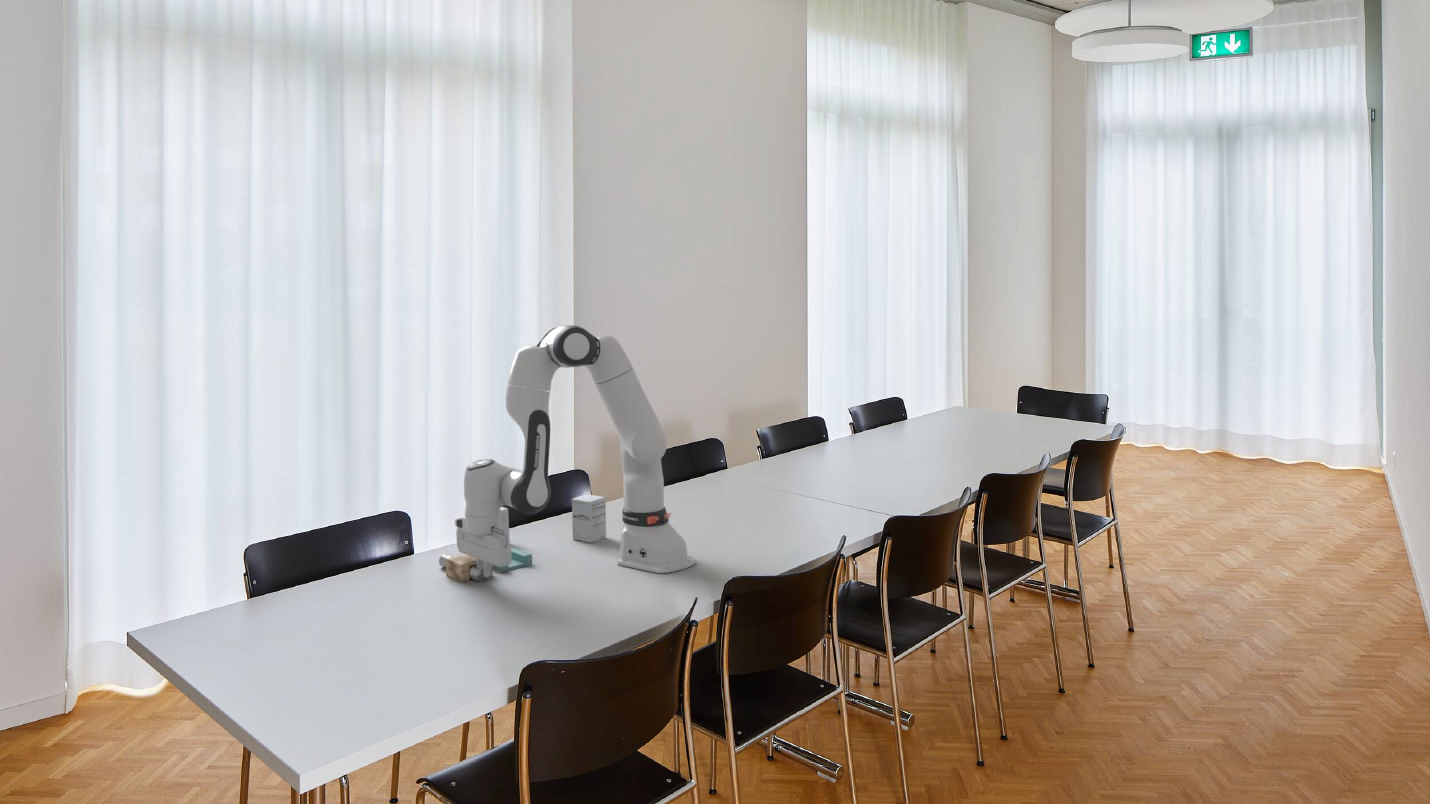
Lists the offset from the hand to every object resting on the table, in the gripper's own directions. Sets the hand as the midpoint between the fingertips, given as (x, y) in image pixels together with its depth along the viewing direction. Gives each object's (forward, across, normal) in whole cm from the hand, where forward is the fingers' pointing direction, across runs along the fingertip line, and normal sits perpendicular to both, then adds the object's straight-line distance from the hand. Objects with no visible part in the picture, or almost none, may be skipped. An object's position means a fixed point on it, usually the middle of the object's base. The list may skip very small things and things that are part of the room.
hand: (485, 575), depth 247 cm
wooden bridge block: (+2, +8, 0) cm, 8 cm away
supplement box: (+2, +12, -43) cm, 45 cm away
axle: (+2, +10, 0) cm, 11 cm away
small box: (+2, +28, -20) cm, 35 cm away
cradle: (+2, +10, -12) cm, 16 cm away
